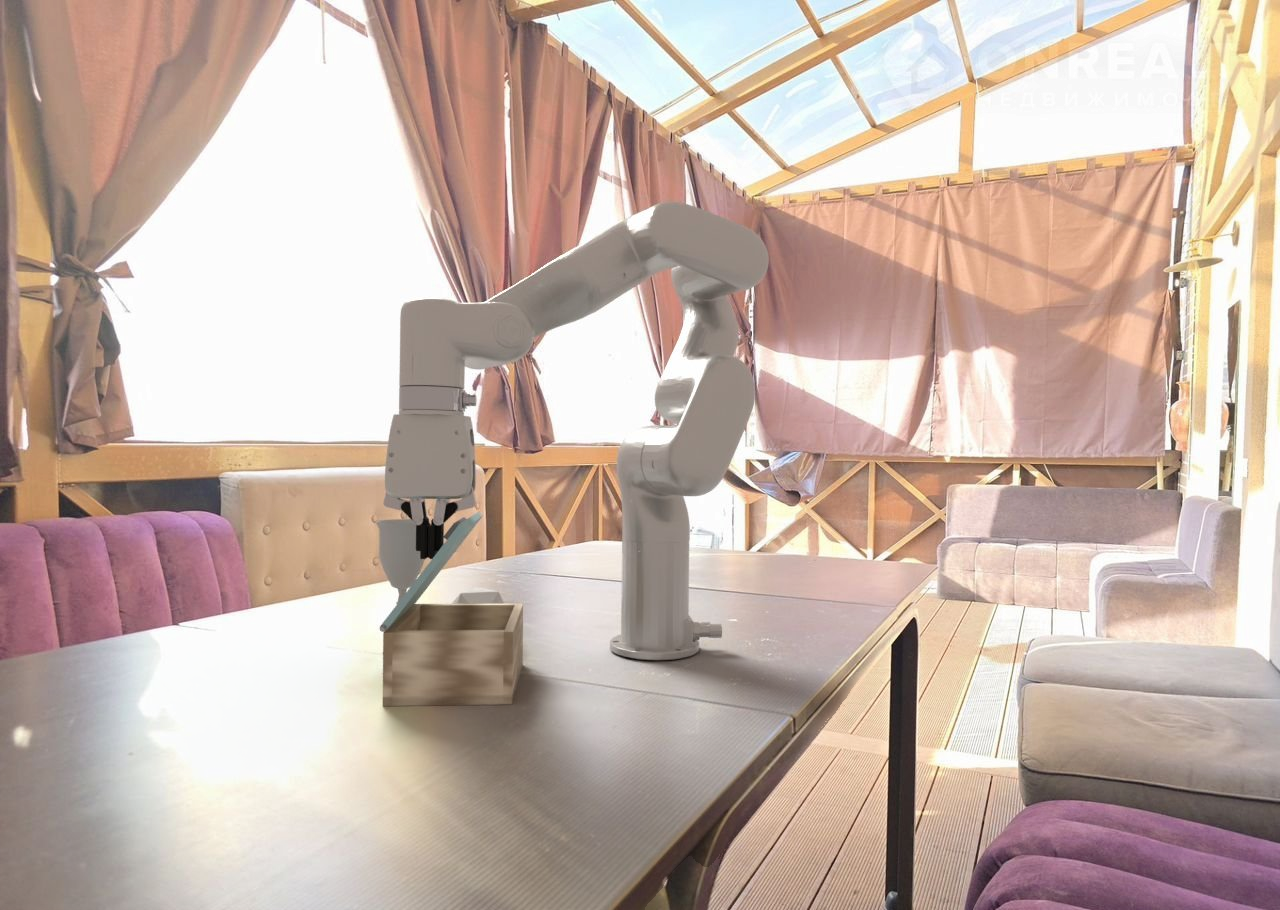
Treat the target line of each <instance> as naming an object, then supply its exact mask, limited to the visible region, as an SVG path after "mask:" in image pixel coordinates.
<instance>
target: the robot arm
mask: <svg viewBox="0 0 1280 910" xmlns="http://www.w3.org/2000/svg"><path fill="white" fill-rule="evenodd" d="M769 262H770V258H769V252H768V249H767V246H766V244H765V242H764V241H763V239H762V238H761V237H760V235H758V234H757V233H756V231H754V230H752V229H751V228H749V227H747V226H746V225H743V224H740V223H738V222H735V221H732V220H730V219H727V218H726V217H723V216H720V215H717V214H716V213H712V212H709V211H707V210H705V209H702V208H700V207H697V206H694V205H691V204H688V203H685V202H679V201H673V200H669V201H668V200H667V201H662V202H659V203H656V204H654V205H652V206H650V207H648V208H645V209H643V210H641V211H639V212H637V213H635V214H633V215H630V216H628V217H627V218H625V219H623V220H621V221H619V222H617V223H616V224H614V225H612V226H611V227H609V228H608V229H605V230H604V231H602V232H600V233H599V234H597V235H595V236H593V237H592V238H590V239H588V240H586V241H585V242H583V243H582V244H580V245H579V244H578V246H576V247H574V248H572V249H570V250H569V251H567V252H566V253H563V254H562V255H560V256H558V257H556V258H555V259H553V260H552V261H549V262H548V263H547V264H545V265H543V267H540V268H539V269H538V270H536V271H534V273H532V274H531V275H529V276H528V277H525V278H524V279H522V280H520V281H519V282H517V283H516V284H514V285H512V286H510V287H509V288H507V289H505V290H503V291H502V292H499V293H498V294H497V295H494V296H493V297H491V298H490V299H488V300H486V301H484V302H458V301H454V300H451V299H447V298H441V297H429V296H428V297H426V296H425V297H414V298H410V299H407V300H406V301H404V302H403V304H402V306H401V308H400V317H399V320H400V322H399V326H400V328H399V376H398V377H399V379H398V381H399V383H398V384H399V386H398V387H399V388H398V414H397V413H395V414H393V415H392V419H391V423H390V429H389V432H388V433H389V434H388V441H387V447H386V448H387V449H386V456H385V457H386V458H385V466H384V467H385V469H384V489H385V496H384V499H383V505H384V507H386V508H389V509H394V510H397V511H400V512H401V511H402V512H403V513H404V514H405V515H406V516H407V517H408V518H409V519H411V520H412V521H413V523H414V524H415V525H416V551H420V559H425V560H427V559H429V560H432V559H433V557H434V556H435V555H436V554H437V552H438V551H439V550H440V548H441V547H442V546H443V544H444V543H445V542H444V540H445V538H444V537H443V536H444V535H445V523H446V522H447V521H448V520H449V519H450V518H451V517H453V515H454V514H455V513H457V512H460V511H466V510H468V509H473V508H474V507H476V505H477V499H476V496H475V491H476V485H477V484H476V483H477V481H476V479H477V471H476V470H477V469H476V467H477V466H476V448H475V435H474V426H473V421H472V418H471V416H469V415H468V416H467V415H465V412H466V409H468V408H470V407H477V401H478V399H477V395H475V394H470V393H468V392H466V389H465V368H468V369H471V370H476V371H477V370H486V369H490V368H495V367H500V366H505V365H510V364H512V363H514V362H515V363H516V362H517V361H519V360H521V359H522V358H524V356H526V355H527V354H528V352H529V351H530V350H531V348H532V346H533V344H534V342H535V341H534V340H535V338H538V337H539V336H541V335H543V334H545V333H547V332H550V331H552V330H554V329H557V328H559V327H562V326H566V325H568V324H571V323H574V322H576V321H579V320H582V319H584V318H586V317H588V316H590V315H592V314H594V313H596V312H598V311H599V310H601V309H603V308H604V307H606V306H607V305H609V304H610V303H612V302H613V301H615V300H616V299H619V297H621V296H623V295H624V294H626V293H627V292H629V291H631V290H632V289H634V288H636V287H637V286H639V285H641V284H642V283H644V282H645V281H646V280H649V279H650V278H652V277H653V276H655V275H657V274H659V273H661V272H664V271H668V270H671V271H670V277H671V283H672V286H673V289H674V291H675V293H676V296H677V298H678V300H679V303H680V306H681V309H682V314H683V324H682V328H681V331H680V334H679V335H678V336H679V337H678V339H677V341H676V344H675V346H674V348H673V349H672V352H671V354H670V357H669V358H668V361H667V363H666V366H665V368H664V370H663V371H662V373H661V376H660V379H659V380H658V384H656V385H657V386H656V389H655V391H654V405H655V409H656V410H657V413H658V414H659V415H660V416H661V418H663V419H664V420H665V421H667V422H669V423H672V424H661V425H660V424H659V425H656V424H655V425H647V426H644V427H643V426H642V427H640V428H638V429H635V430H634V431H631V432H630V433H629V434H628V435H627V436H625V439H623V440H622V443H621V444H620V445H619V448H618V452H617V457H616V472H617V479H618V486H619V491H620V497H621V498H620V499H621V512H622V513H621V514H622V523H621V524H622V528H621V529H622V530H621V531H622V535H621V536H622V537H621V538H622V539H621V598H620V599H621V600H620V601H621V602H620V603H621V609H620V610H621V611H620V612H621V613H620V614H621V617H620V619H621V621H620V634H618V635H616V636H613V637H612V638H611V639H610V642H609V649H610V650H611V652H612V653H614V654H616V655H618V656H621V657H625V658H629V659H636V660H646V661H669V660H679V659H685V658H688V657H691V656H693V655H696V654H697V653H698V652H699V651H700V642H699V641H700V638H708V639H712V638H713V639H722V637H723V628H722V627H723V626H722V624H721V623H711V622H710V621H702V622H698V621H694V620H693V619H692V617H691V616H690V614H689V609H690V608H689V603H690V602H689V601H690V599H689V595H690V594H689V593H690V590H689V589H690V539H691V538H690V537H691V536H690V535H691V527H690V526H691V525H690V517H689V512H688V507H687V503H686V501H685V497H700V496H703V495H706V494H708V493H710V492H712V491H713V490H714V489H715V488H717V486H718V485H719V484H721V482H722V480H723V478H724V476H725V475H726V473H727V472H728V470H729V467H730V465H731V463H732V461H733V458H734V456H735V453H736V450H737V449H738V446H739V445H740V441H741V439H742V437H743V434H744V432H745V430H746V427H747V424H748V422H749V420H750V417H751V415H752V412H753V409H754V405H755V399H756V385H755V380H754V376H753V373H752V371H751V370H750V368H749V367H748V365H747V364H746V363H745V362H744V361H743V360H741V359H740V358H738V357H736V356H734V355H735V353H736V351H737V348H738V345H739V344H738V343H739V339H740V337H739V336H740V329H739V324H738V321H737V318H736V316H735V313H734V310H733V307H732V305H731V302H730V300H729V297H728V295H732V294H733V295H734V294H737V293H740V292H744V291H749V290H750V289H752V288H754V287H756V286H757V285H758V284H760V283H761V282H762V281H763V279H764V277H766V275H767V272H768V268H769V264H770V263H769ZM408 499H409V500H408ZM429 499H430V500H431V499H432V500H435V507H434V510H433V511H434V512H433V518H432V519H431V521H430V519H429V517H428V513H427V505H426V500H429ZM457 499H459V500H457ZM451 500H455V501H451ZM429 521H430V523H429Z"/></svg>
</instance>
